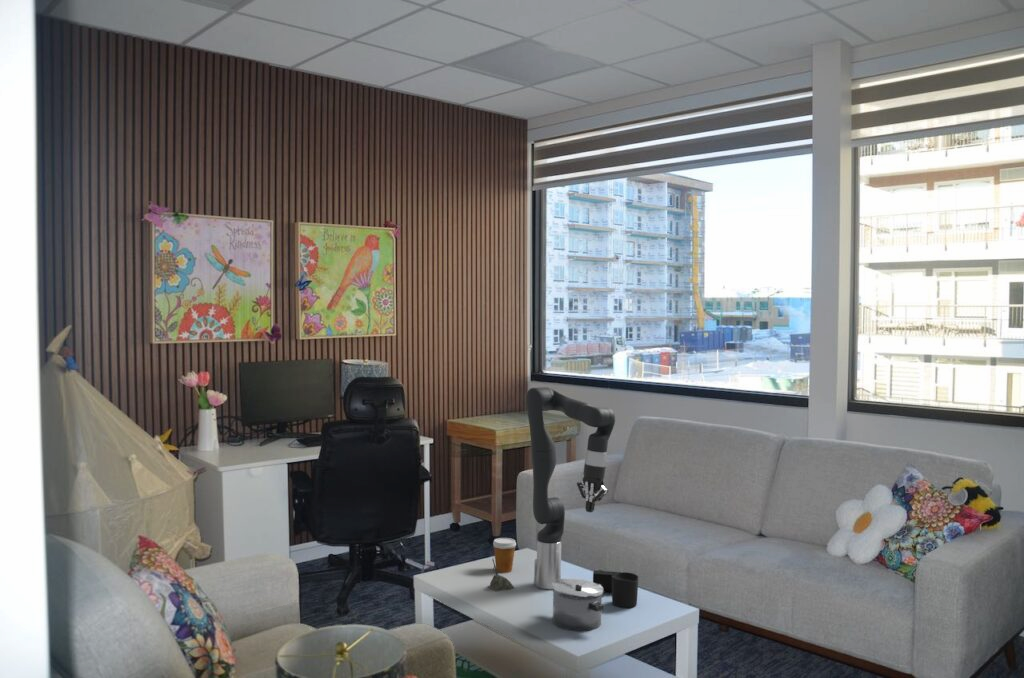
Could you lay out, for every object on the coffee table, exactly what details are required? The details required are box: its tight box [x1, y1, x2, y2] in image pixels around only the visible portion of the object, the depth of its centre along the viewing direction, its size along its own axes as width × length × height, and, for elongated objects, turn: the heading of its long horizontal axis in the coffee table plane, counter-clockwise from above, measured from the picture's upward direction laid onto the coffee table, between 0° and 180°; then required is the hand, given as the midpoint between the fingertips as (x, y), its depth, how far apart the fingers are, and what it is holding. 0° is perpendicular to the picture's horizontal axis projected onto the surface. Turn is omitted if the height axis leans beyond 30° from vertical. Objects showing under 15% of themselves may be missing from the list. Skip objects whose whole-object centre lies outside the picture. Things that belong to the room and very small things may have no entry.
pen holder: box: [611, 571, 639, 609], centre depth 279 cm, size 9×9×10 cm
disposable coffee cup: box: [492, 537, 517, 574], centre depth 317 cm, size 10×10×12 cm
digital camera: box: [592, 569, 621, 594], centre depth 294 cm, size 10×5×7 cm, turn 81°
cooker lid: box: [552, 578, 603, 597], centre depth 261 cm, size 18×17×3 cm
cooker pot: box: [552, 589, 605, 632], centre depth 261 cm, size 17×23×10 cm
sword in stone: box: [486, 558, 515, 592], centre depth 295 cm, size 10×8×12 cm
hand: (589, 511), depth 279 cm, fingers closed
